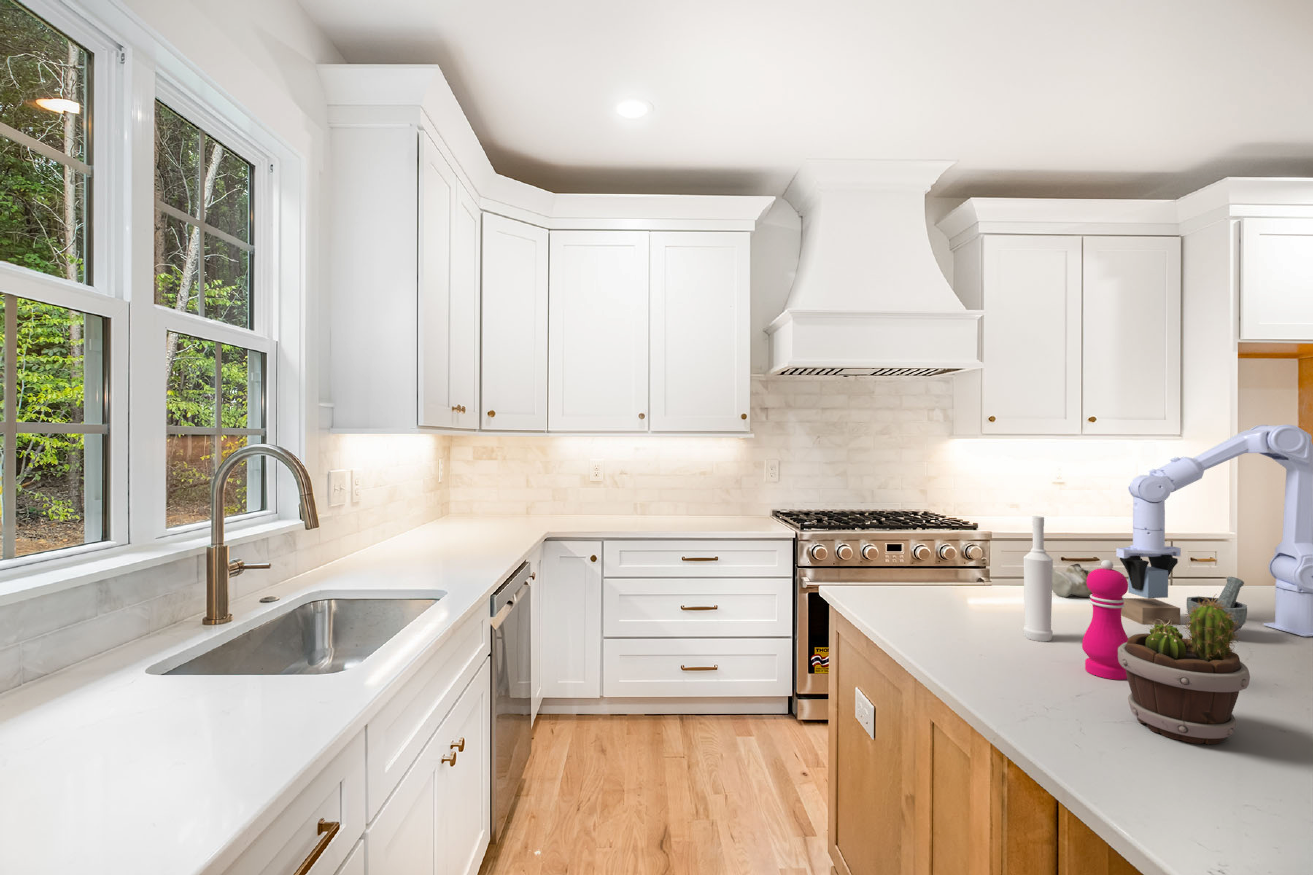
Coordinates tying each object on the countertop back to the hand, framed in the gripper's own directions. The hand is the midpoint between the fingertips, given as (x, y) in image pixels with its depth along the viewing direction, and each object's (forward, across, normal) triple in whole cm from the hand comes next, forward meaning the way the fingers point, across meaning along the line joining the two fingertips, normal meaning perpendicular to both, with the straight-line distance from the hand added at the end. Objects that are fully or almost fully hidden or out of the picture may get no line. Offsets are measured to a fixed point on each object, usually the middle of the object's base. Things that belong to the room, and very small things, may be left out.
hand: (1148, 588), depth 144 cm
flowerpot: (+7, +43, +47) cm, 64 cm away
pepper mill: (+7, +36, +27) cm, 46 cm away
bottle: (+7, +34, +8) cm, 36 cm away
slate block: (+2, 0, 0) cm, 2 cm away
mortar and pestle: (+7, -4, +12) cm, 15 cm away
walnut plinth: (+7, 0, 0) cm, 7 cm away
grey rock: (+7, -1, -20) cm, 22 cm away
